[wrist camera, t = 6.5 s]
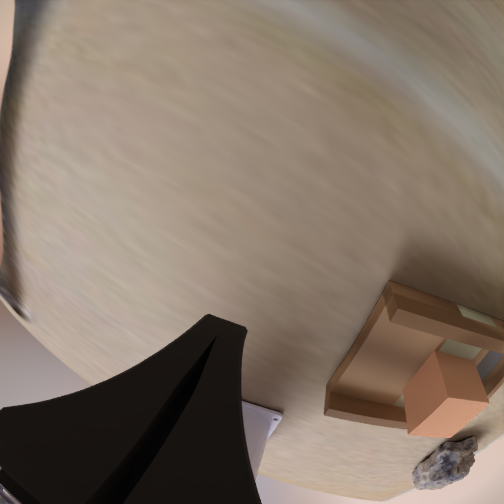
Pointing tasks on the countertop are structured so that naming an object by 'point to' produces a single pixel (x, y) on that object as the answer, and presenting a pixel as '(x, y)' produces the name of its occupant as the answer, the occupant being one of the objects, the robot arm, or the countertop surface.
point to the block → (443, 396)
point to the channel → (409, 354)
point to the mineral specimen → (445, 465)
